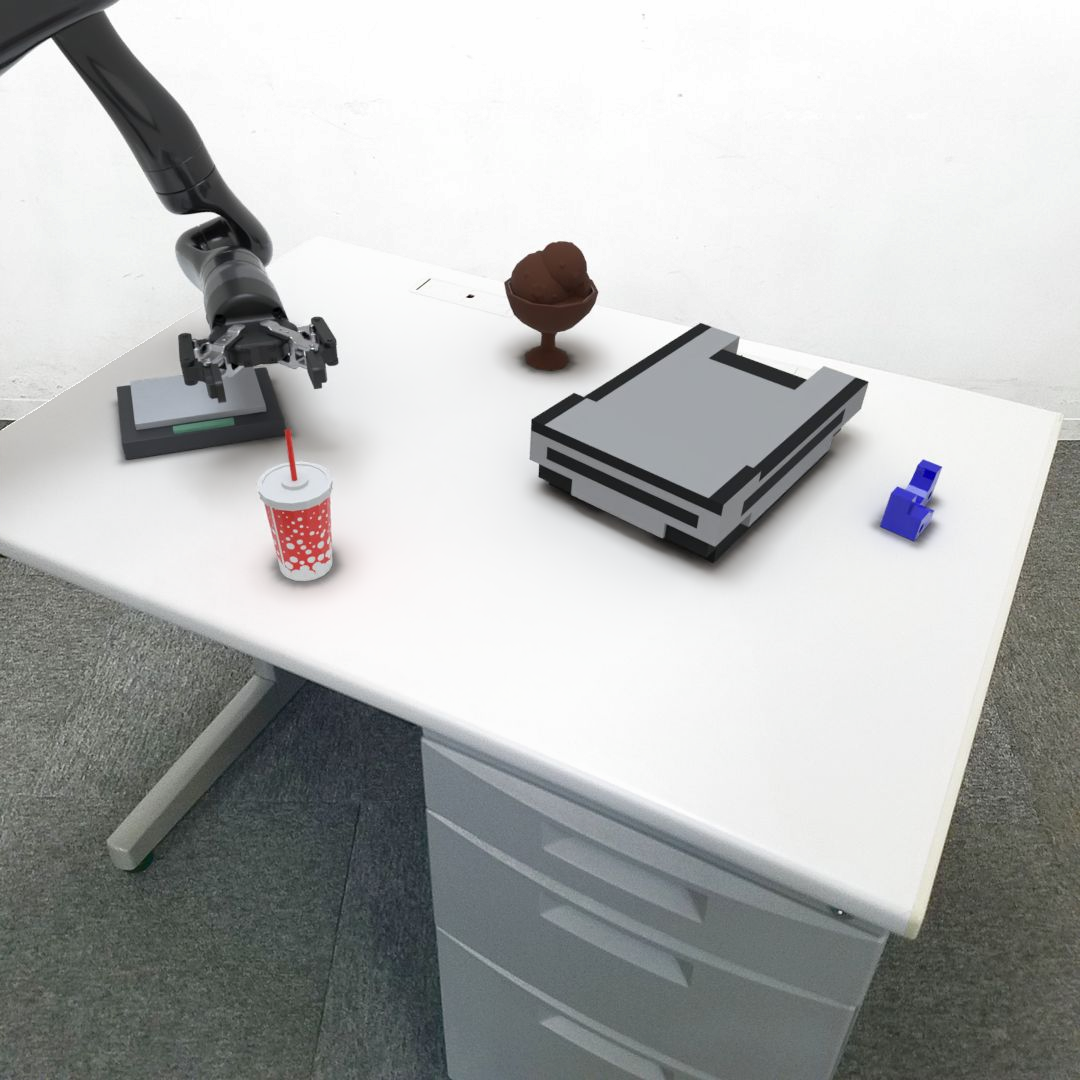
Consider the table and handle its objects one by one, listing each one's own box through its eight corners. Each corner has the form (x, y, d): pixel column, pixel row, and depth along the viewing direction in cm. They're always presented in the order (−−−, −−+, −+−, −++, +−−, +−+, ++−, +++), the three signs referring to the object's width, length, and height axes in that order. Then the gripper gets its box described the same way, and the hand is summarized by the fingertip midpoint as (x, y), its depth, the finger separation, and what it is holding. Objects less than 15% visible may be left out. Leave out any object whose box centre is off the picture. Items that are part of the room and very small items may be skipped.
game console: (852, 437, 107) (871, 371, 102) (708, 578, 87) (723, 504, 81) (692, 376, 117) (702, 313, 111) (528, 490, 96) (531, 419, 91)
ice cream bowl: (580, 337, 123) (589, 221, 114) (599, 379, 115) (610, 258, 105) (498, 340, 122) (500, 223, 112) (511, 383, 113) (514, 260, 104)
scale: (126, 460, 97) (119, 436, 95) (120, 402, 106) (114, 379, 104) (286, 435, 102) (283, 412, 100) (268, 382, 111) (265, 360, 109)
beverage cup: (355, 562, 86) (342, 428, 77) (302, 596, 82) (282, 459, 74) (309, 534, 89) (292, 402, 80) (256, 566, 85) (231, 431, 76)
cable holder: (914, 541, 92) (926, 507, 90) (879, 526, 94) (891, 492, 92) (944, 505, 97) (957, 472, 95) (911, 491, 99) (923, 459, 97)
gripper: (163, 284, 93) (179, 360, 82) (310, 268, 98) (345, 338, 86) (178, 353, 98) (195, 435, 86) (318, 335, 103) (352, 410, 91)
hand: (270, 386), depth 86 cm, fingers open, 8 cm apart
